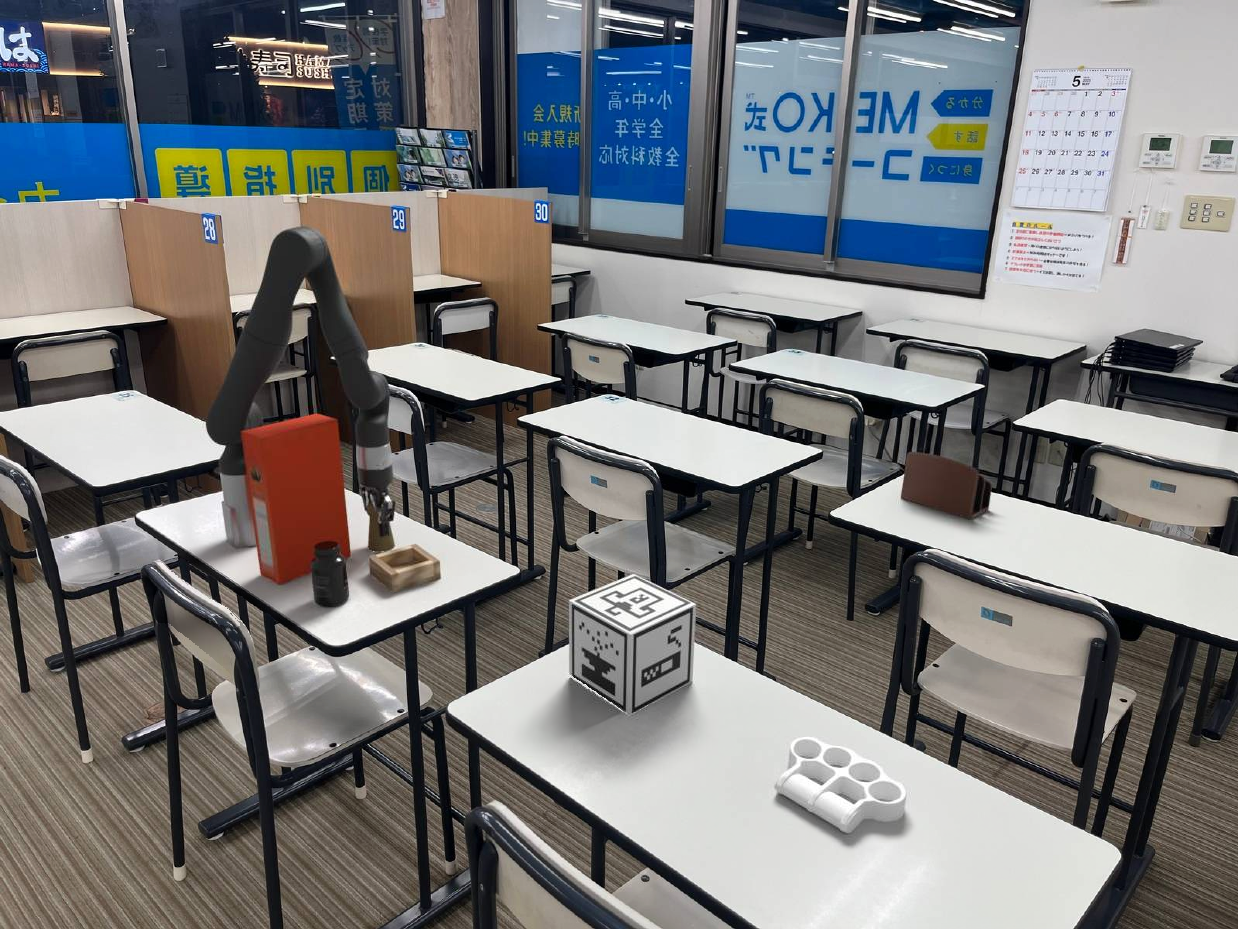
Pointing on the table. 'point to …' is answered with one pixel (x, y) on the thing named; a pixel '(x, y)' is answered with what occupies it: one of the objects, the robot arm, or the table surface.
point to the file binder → (295, 493)
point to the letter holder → (945, 485)
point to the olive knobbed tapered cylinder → (374, 536)
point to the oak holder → (404, 567)
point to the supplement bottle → (329, 575)
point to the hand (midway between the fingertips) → (380, 533)
